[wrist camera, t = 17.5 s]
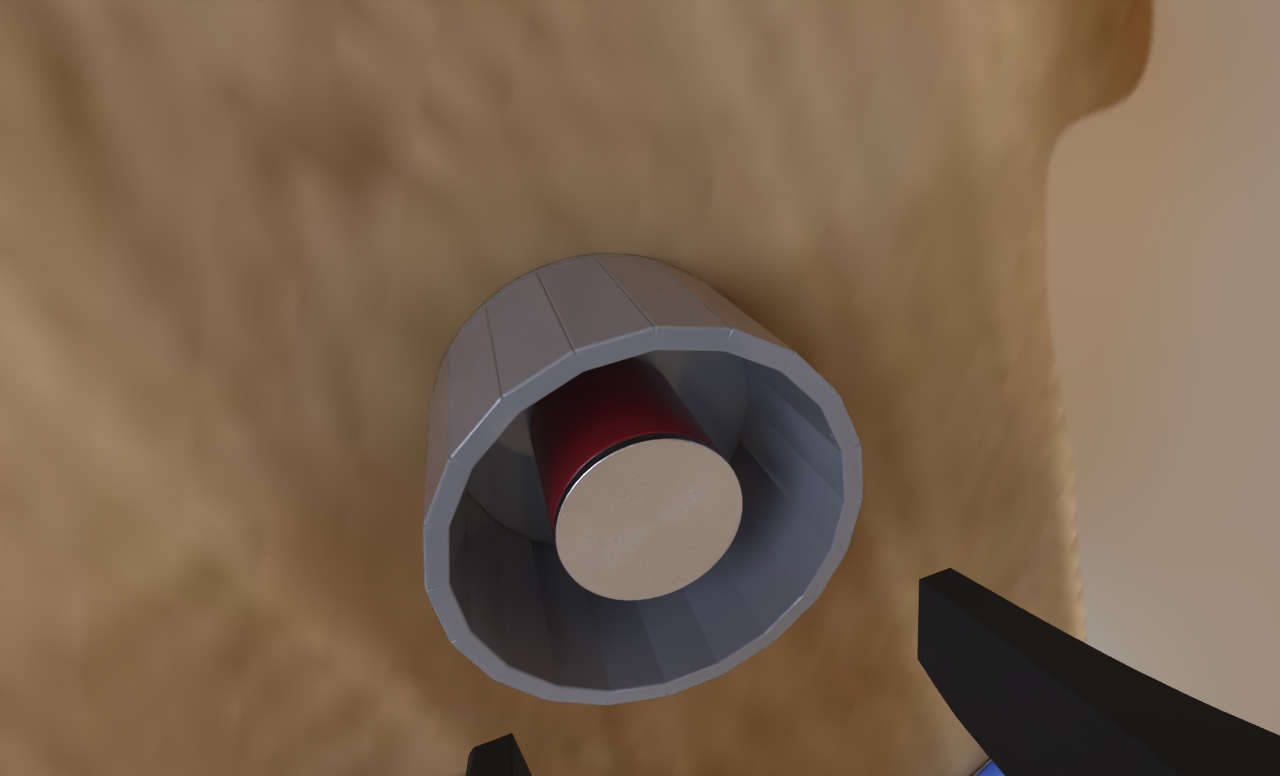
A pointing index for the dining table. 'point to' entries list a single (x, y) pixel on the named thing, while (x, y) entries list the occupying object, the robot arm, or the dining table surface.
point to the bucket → (516, 510)
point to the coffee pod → (632, 483)
